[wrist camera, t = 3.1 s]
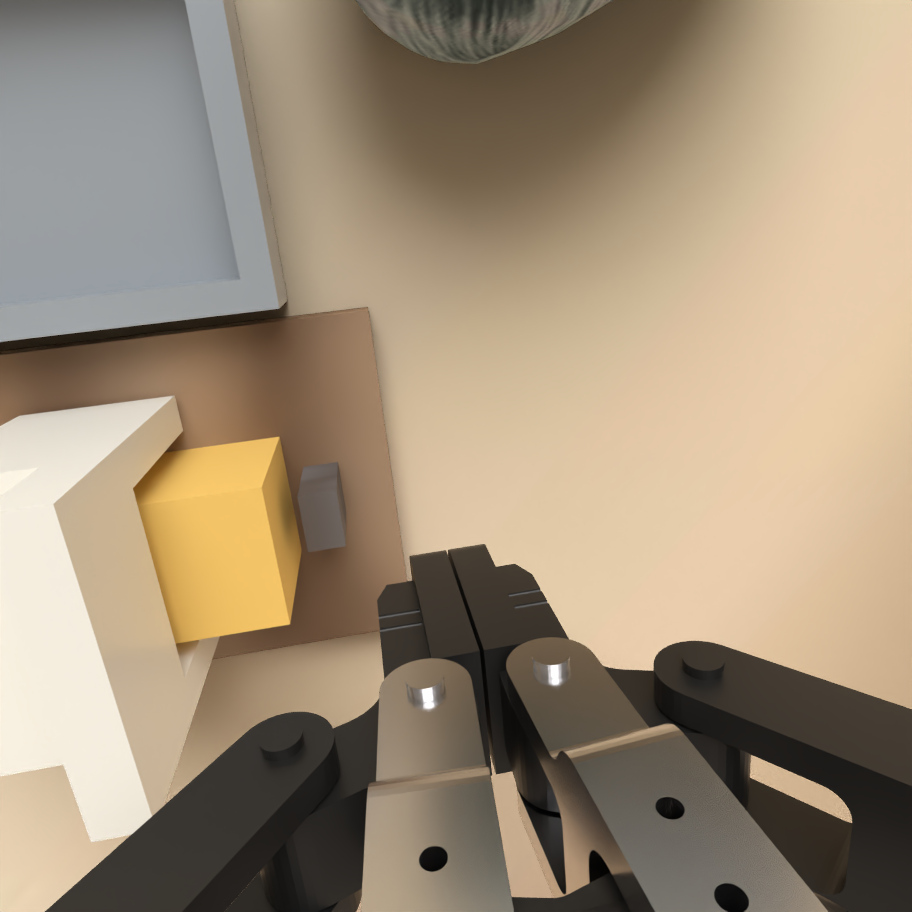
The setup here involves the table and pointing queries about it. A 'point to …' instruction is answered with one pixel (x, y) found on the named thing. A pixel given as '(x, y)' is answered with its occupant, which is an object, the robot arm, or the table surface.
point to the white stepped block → (90, 613)
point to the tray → (129, 168)
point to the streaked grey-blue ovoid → (474, 24)
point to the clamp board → (259, 417)
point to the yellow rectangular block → (222, 537)
